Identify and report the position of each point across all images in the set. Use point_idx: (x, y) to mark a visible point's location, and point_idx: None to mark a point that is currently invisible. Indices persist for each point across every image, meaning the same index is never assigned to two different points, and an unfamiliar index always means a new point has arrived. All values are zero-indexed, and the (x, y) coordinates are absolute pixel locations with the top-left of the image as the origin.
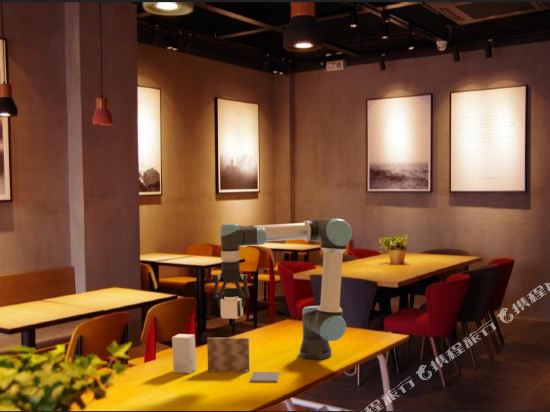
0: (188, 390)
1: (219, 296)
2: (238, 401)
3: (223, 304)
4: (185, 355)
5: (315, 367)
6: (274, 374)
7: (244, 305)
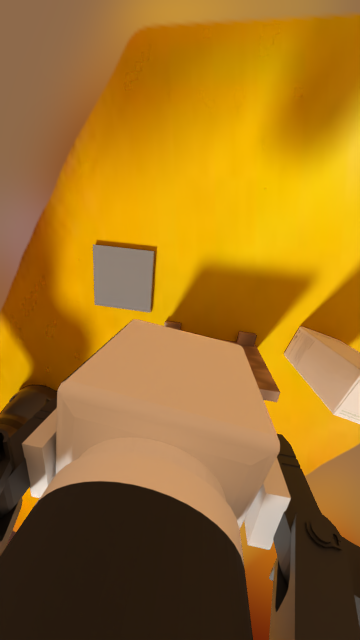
0: (310, 189)
1: (331, 582)
2: (174, 85)
3: (242, 405)
4: (336, 346)
5: (33, 338)
6: (103, 288)
7: (45, 405)
